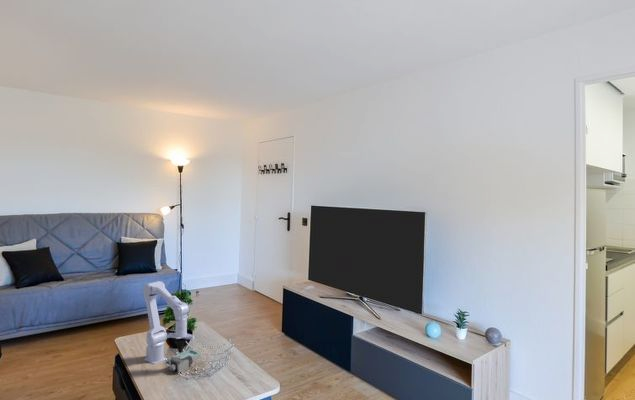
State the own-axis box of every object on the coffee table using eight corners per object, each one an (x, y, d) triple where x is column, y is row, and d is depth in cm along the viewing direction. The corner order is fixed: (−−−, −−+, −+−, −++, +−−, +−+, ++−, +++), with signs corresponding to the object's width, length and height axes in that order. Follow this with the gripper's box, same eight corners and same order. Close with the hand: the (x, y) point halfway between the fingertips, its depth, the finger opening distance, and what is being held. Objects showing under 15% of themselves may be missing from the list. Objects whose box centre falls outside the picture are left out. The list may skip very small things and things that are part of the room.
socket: (169, 369, 189) (169, 358, 189) (178, 365, 194) (179, 354, 194) (178, 374, 185) (179, 362, 185) (188, 369, 190) (188, 358, 190)
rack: (168, 362, 198) (168, 358, 198) (190, 352, 211) (190, 349, 211) (177, 366, 193) (177, 362, 193) (199, 355, 206) (199, 352, 206)
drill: (175, 373, 185) (174, 363, 186) (170, 372, 188) (169, 362, 188) (193, 364, 195) (192, 356, 195) (187, 364, 197) (186, 355, 198)
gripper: (164, 328, 187) (164, 353, 187) (190, 330, 185) (189, 356, 185) (171, 323, 194) (171, 348, 194) (196, 325, 192) (196, 350, 192)
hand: (180, 351), depth 190 cm, fingers closed
